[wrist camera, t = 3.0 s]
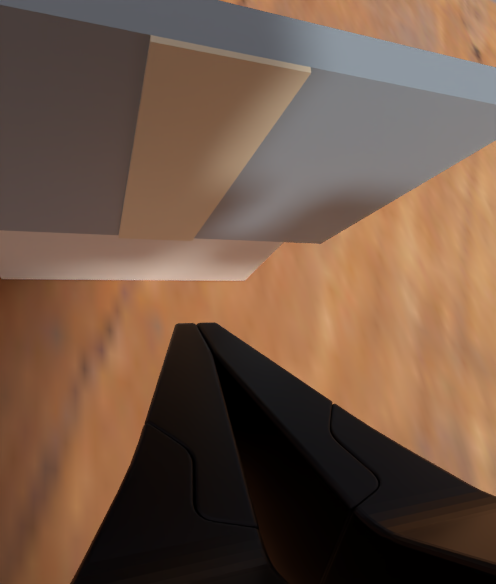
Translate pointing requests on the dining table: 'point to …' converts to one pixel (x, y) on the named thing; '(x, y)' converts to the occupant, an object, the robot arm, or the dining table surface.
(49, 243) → the storage box
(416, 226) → the dining table surface
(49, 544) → the dining table surface
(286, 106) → the lid
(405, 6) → the dining table surface
